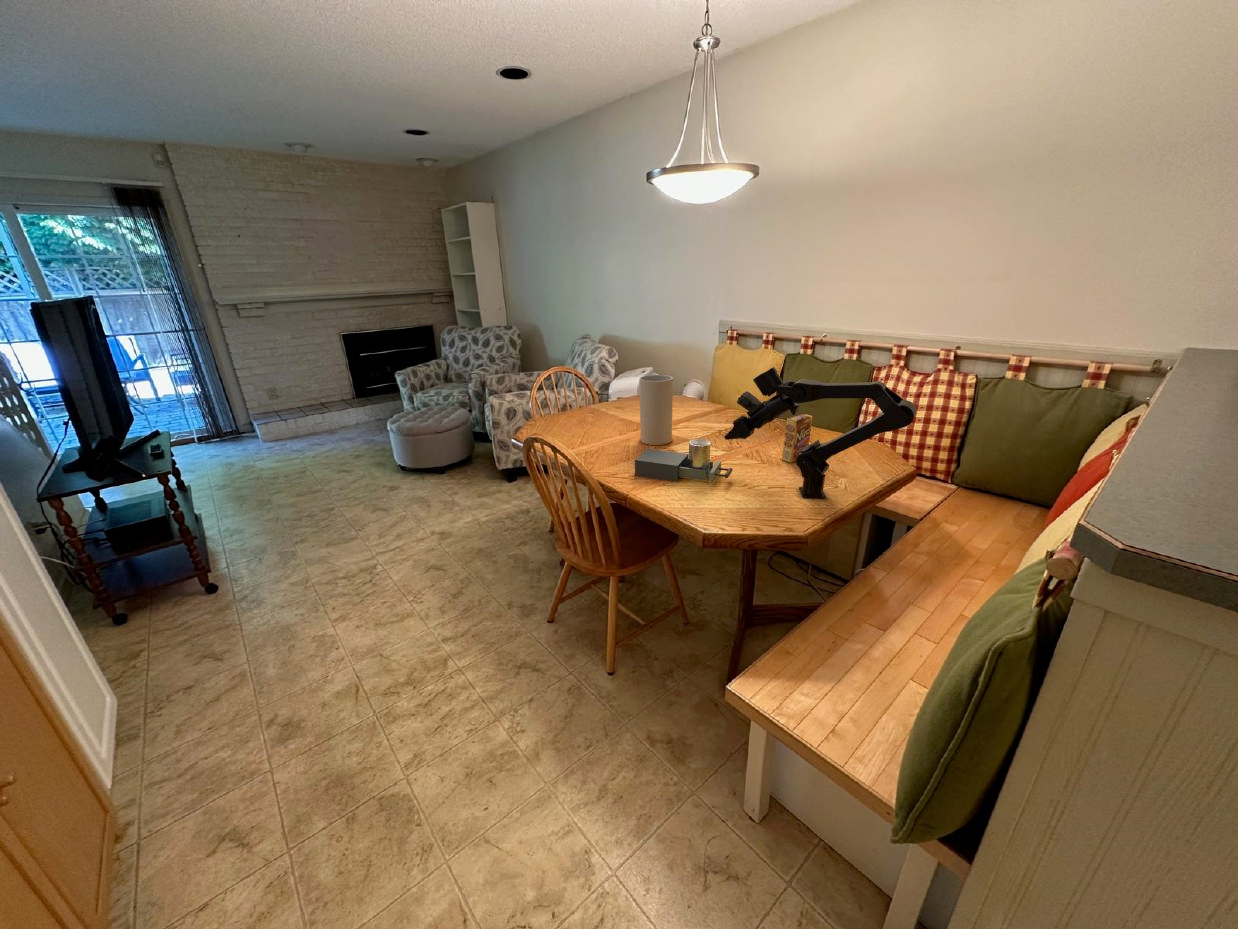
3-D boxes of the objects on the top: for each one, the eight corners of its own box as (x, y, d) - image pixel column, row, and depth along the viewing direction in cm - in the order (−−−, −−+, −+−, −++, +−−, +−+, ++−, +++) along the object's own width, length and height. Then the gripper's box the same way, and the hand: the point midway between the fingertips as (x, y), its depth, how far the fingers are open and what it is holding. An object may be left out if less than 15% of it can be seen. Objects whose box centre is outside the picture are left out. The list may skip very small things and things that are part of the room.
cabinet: (688, 469, 161) (688, 453, 159) (677, 482, 151) (677, 465, 149) (647, 463, 166) (647, 448, 164) (634, 475, 157) (634, 459, 155)
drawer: (733, 473, 154) (734, 462, 152) (726, 486, 145) (727, 474, 144) (681, 466, 161) (681, 455, 159) (671, 477, 152) (671, 466, 151)
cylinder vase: (677, 438, 191) (678, 376, 182) (662, 447, 181) (662, 382, 172) (650, 434, 197) (650, 373, 188) (634, 442, 188) (633, 379, 179)
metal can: (709, 476, 149) (710, 446, 146) (688, 475, 150) (688, 445, 147) (709, 468, 155) (710, 439, 152) (688, 467, 156) (689, 438, 153)
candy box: (791, 463, 163) (796, 420, 157) (781, 459, 166) (785, 417, 160) (808, 457, 167) (813, 415, 162) (797, 454, 171) (802, 413, 165)
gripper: (768, 379, 146) (728, 406, 156) (745, 392, 132) (703, 419, 142) (788, 410, 146) (747, 434, 156) (767, 425, 132) (724, 451, 142)
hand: (731, 434), depth 149 cm, fingers open, 9 cm apart
